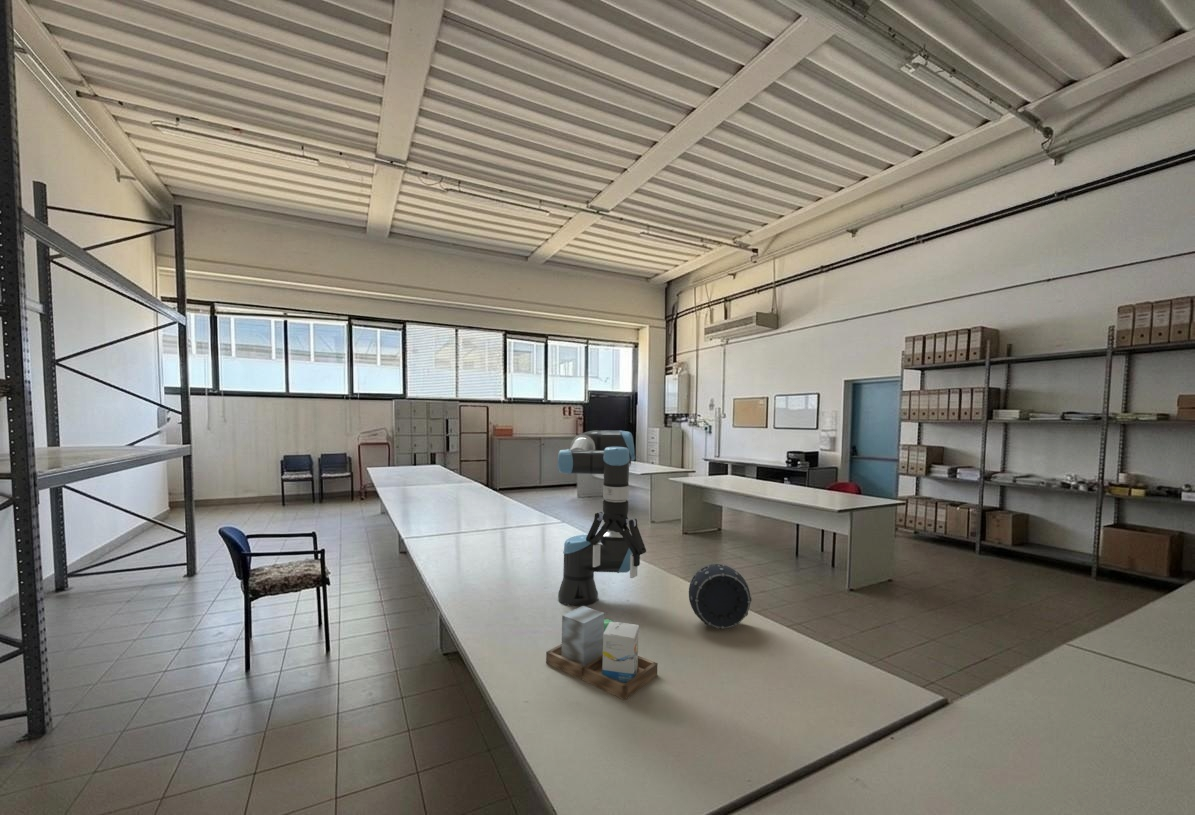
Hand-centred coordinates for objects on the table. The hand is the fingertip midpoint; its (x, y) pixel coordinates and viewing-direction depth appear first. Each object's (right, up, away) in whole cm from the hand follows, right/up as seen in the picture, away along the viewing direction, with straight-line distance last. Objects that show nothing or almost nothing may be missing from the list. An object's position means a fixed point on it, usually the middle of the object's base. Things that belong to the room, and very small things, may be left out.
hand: (614, 571), depth 138 cm
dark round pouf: (+36, -25, +19) cm, 47 cm away
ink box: (+1, -22, -14) cm, 26 cm away
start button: (-2, -23, +6) cm, 24 cm away
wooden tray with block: (-4, -23, -10) cm, 26 cm away
